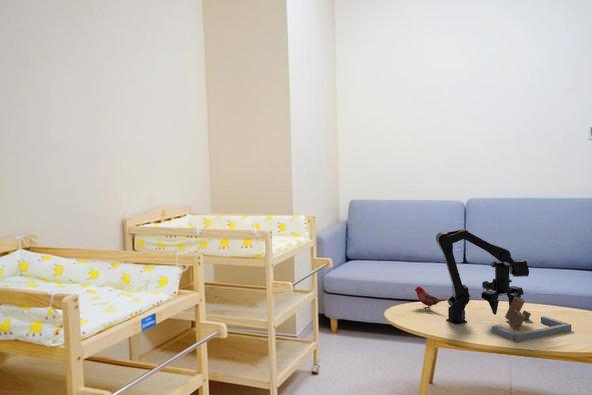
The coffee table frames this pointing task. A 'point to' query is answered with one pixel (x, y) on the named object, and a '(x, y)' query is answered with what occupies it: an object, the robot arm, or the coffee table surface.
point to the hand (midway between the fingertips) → (502, 312)
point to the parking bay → (554, 329)
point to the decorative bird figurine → (427, 297)
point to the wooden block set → (516, 313)
